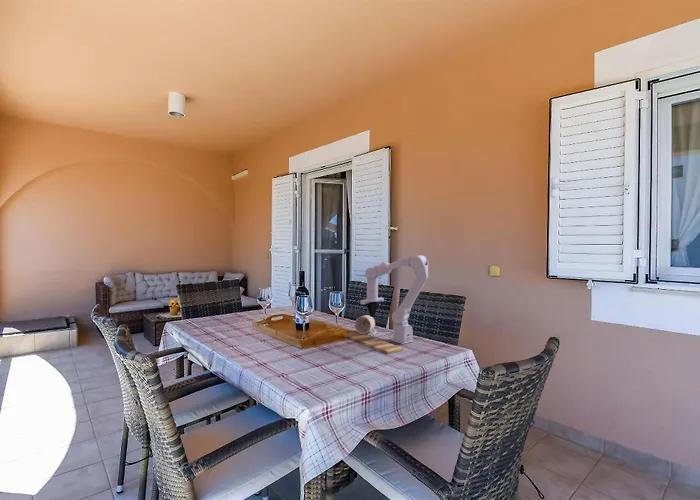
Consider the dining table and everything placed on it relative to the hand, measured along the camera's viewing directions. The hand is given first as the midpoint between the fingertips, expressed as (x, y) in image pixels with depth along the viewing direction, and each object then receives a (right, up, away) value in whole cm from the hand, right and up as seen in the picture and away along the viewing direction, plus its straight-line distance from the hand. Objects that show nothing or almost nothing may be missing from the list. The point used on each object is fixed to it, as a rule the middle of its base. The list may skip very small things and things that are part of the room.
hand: (372, 316), depth 190 cm
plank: (-8, -10, -3) cm, 13 cm away
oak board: (+3, -11, -18) cm, 21 cm away
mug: (-1, -7, +11) cm, 13 cm away
